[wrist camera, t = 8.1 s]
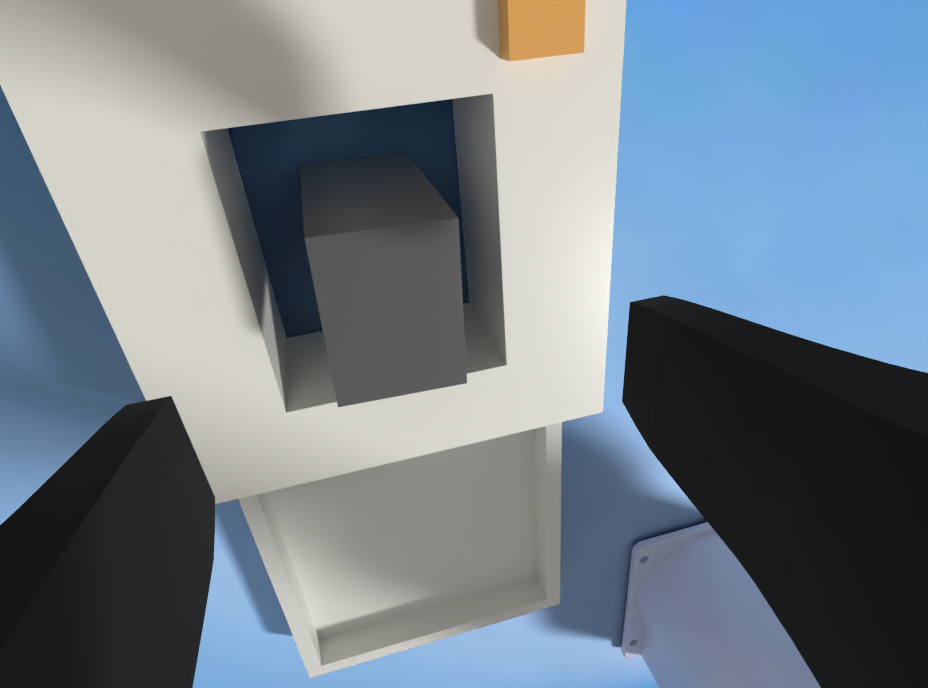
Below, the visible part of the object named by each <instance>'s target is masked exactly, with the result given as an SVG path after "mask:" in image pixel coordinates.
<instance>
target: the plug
mask: <svg viewBox="0 0 928 688" xmlns="http://www.w3.org/2000/svg"><path fill="white" fill-rule="evenodd" d="M300 179H301V194H302V209H303V224H304V239H305V244H306V249H307V254H308V259H309V264H310V269H311V274H312V279H313V284H314V289H315V294H316V299H317V304H318V309H319V314H320V319H321V325H322V330H323V335H324V340H325V345H326V350H327V355H328V360H329V365H330V370H331V375H332V380H333V385H334V390H335V395H336V400H337V405H338V407H343V406H348V405H354V404H359V403H364V402H370V401H375V400H380V399H386V398H391V397H396V396H402V395H407V394H412V393H418V392H423V391H428V390H434V389H439V388H444V387H450V386H455V385H460V384H466V383H467V371H466V352H465V333H464V313H463V294H462V275H461V256H460V237H459V218H458V217H457V216H456V214H455V213H454V212H453V210H452V209H451V208H450V207H449V205H448V204H447V203H446V201H445V200H444V199H443V198H442V196H441V195H440V194H439V193H438V191H437V190H436V189H435V187H434V186H433V185H432V184H431V182H430V181H429V180H428V178H427V177H426V176H425V175H424V173H423V172H422V171H421V170H420V168H419V167H418V166H417V164H416V163H415V162H414V161H413V159H412V158H411V157H410V155H409V154H408V153H398V154H389V155H379V156H370V157H360V158H351V159H341V160H332V161H323V162H313V163H304V164H300Z"/></svg>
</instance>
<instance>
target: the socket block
mask: <svg viewBox="0 0 928 688" xmlns="http://www.w3.org/2000/svg"><path fill="white" fill-rule="evenodd" d="M625 16H626V0H0V85H1V88H2V90H3V92H4V94H5V96H6V98H7V101H8V103H9V105H10V107H11V109H12V111H13V114H14V116H15V118H16V120H17V122H18V124H19V127H20V129H21V131H22V133H23V135H24V137H25V139H26V142H27V144H28V146H29V148H30V150H31V152H32V155H33V157H34V159H35V161H36V163H37V165H38V168H39V170H40V172H41V174H42V176H43V178H44V181H45V183H46V185H47V187H48V189H49V191H50V194H51V196H52V198H53V200H54V202H55V204H56V207H57V209H58V211H59V213H60V215H61V217H62V220H63V222H64V224H65V226H66V228H67V230H68V233H69V235H70V237H71V239H72V241H73V243H74V246H75V248H76V250H77V252H78V254H79V256H80V259H81V261H82V263H83V265H84V267H85V269H86V272H87V274H88V276H89V278H90V280H91V282H92V285H93V287H94V289H95V291H96V293H97V295H98V298H99V300H100V302H101V304H102V306H103V308H104V310H105V313H106V315H107V317H108V319H109V321H110V323H111V326H112V328H113V330H114V332H115V334H116V336H117V339H118V341H119V343H120V345H121V347H122V349H123V352H124V354H125V356H126V358H127V360H128V362H129V365H130V367H131V369H132V371H133V373H134V375H135V378H136V380H137V382H138V384H139V386H140V388H141V391H142V393H143V395H144V397H145V399H146V401H148V400H153V399H158V398H163V397H168V396H172V399H173V401H174V403H175V405H176V408H177V410H178V412H179V415H180V417H181V419H182V422H183V424H184V426H185V429H186V431H187V433H188V436H189V438H190V440H191V443H192V445H193V447H194V450H195V452H196V454H197V457H198V459H199V461H200V464H201V466H202V468H203V471H204V473H205V475H206V477H207V480H208V482H209V484H210V487H211V489H212V491H213V494H214V496H215V504H219V503H223V502H228V501H232V500H236V499H240V498H244V497H249V496H253V495H257V494H261V493H265V492H270V491H274V490H278V489H282V488H286V487H291V486H295V485H299V484H303V483H307V482H312V481H316V480H320V479H324V478H328V477H333V476H337V475H341V474H345V473H349V472H354V471H358V470H362V469H366V468H370V467H375V466H379V465H383V464H387V463H392V462H396V461H400V460H404V459H408V458H413V457H417V456H421V455H425V454H429V453H434V452H438V451H442V450H446V449H450V448H455V447H459V446H463V445H467V444H471V443H476V442H480V441H484V440H488V439H492V438H497V437H501V436H505V435H509V434H513V433H518V432H522V431H526V430H530V429H534V428H539V427H543V426H547V425H551V424H556V423H560V422H564V421H568V420H572V419H577V418H581V417H585V416H589V415H593V414H598V413H602V412H603V398H604V381H605V364H606V346H607V329H608V311H609V294H610V277H611V259H612V242H613V225H614V207H615V190H616V173H617V155H618V138H619V120H620V103H621V86H622V68H623V51H624V34H625ZM448 99H452V106H453V118H454V129H455V141H456V153H457V165H458V176H459V188H460V200H461V212H462V223H463V235H464V247H465V258H466V270H467V282H468V294H469V303H464V304H463V313H464V333H465V352H466V371H467V383H466V384H460V385H455V386H450V387H444V388H439V389H434V390H428V391H423V392H418V393H412V394H407V395H402V396H396V397H391V398H386V399H380V400H375V401H370V402H364V403H359V404H354V405H348V406H343V407H338V405H337V400H336V395H335V390H334V385H333V380H332V375H331V370H330V365H329V360H328V355H327V350H326V345H325V340H324V335H323V331H320V332H315V333H309V334H304V335H299V336H294V337H289V338H286V334H285V331H284V327H283V324H282V320H281V317H280V313H279V309H278V306H277V302H276V299H275V295H274V292H273V288H272V285H271V281H270V278H269V274H268V270H267V267H266V263H265V260H264V256H263V253H262V249H261V246H260V242H259V239H258V235H257V232H256V228H255V224H254V221H253V217H252V214H251V210H250V207H249V203H248V200H247V196H246V193H245V189H244V185H243V182H242V178H241V175H240V171H239V168H238V164H237V161H236V157H235V154H234V150H233V147H232V143H231V139H230V136H229V132H228V129H227V128H232V127H240V126H248V125H255V124H263V123H271V122H278V121H286V120H294V119H302V118H309V117H317V116H325V115H332V114H340V113H348V112H355V111H363V110H371V109H378V108H386V107H394V106H402V105H409V104H417V103H425V102H432V101H440V100H448Z"/></svg>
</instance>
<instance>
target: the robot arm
mask: <svg viewBox="0 0 928 688" xmlns="http://www.w3.org/2000/svg"><path fill="white" fill-rule="evenodd" d="M622 402H623V404H624V405H625V407H626V409H627V411H628V413H629V414H630V416H631V418H632V420H633V422H634V423H635V425H636V427H637V429H638V430H639V432H640V433H641V435H642V437H643V438H644V440H645V442H646V443H647V445H648V447H649V448H650V450H651V451H652V452H653V454H654V455H655V456H656V458H657V459H658V460H659V461H660V463H661V464H662V465H663V467H664V468H665V469H666V470H667V472H668V473H669V474H670V475H671V477H672V478H673V479H674V481H675V482H676V483H677V484H678V486H679V487H680V488H681V489H682V491H683V492H684V493H685V494H686V496H687V497H688V498H689V499H690V501H691V502H692V503H693V504H694V506H695V507H696V508H697V509H698V511H699V512H700V513H701V514H702V516H703V517H704V518H705V519H706V521H707V522H706V523H702V524H699V525H695V526H692V527H688V528H685V529H681V530H678V531H674V532H671V533H667V534H664V535H660V536H657V537H653V538H649V539H646V540H642V541H640V542H638V543H637V544H635V545H634V547H633V549H632V557H631V566H630V575H629V584H628V593H627V603H626V612H625V621H624V630H623V639H622V648H621V650H622V653H623V655H624V657H626V658H632V657H635V656H638V655H642V657H643V659H644V660H645V662H646V664H647V666H648V668H649V670H650V672H651V673H652V675H653V677H654V679H655V681H656V683H657V685H658V686H659V688H928V373H925V372H920V371H916V370H912V369H908V368H904V367H900V366H896V365H892V364H888V363H884V362H881V361H877V360H874V359H870V358H867V357H863V356H860V355H856V354H853V353H849V352H846V351H842V350H839V349H835V348H832V347H828V346H825V345H822V344H819V343H816V342H812V341H809V340H806V339H803V338H800V337H796V336H793V335H790V334H787V333H784V332H781V331H778V330H775V329H772V328H769V327H766V326H763V325H760V324H757V323H754V322H751V321H748V320H745V319H742V318H739V317H736V316H733V315H730V314H727V313H724V312H721V311H718V310H715V309H712V308H708V307H705V306H702V305H699V304H696V303H692V302H689V301H685V300H681V299H677V298H673V297H668V296H659V297H654V298H649V299H644V300H639V301H634V302H630V309H629V322H628V335H627V348H626V360H625V373H624V386H623V398H622ZM214 534H215V496H214V494H213V491H212V489H211V487H210V484H209V482H208V480H207V477H206V475H205V473H204V471H203V468H202V466H201V464H200V461H199V459H198V457H197V454H196V452H195V450H194V447H193V445H192V443H191V440H190V438H189V436H188V433H187V431H186V429H185V426H184V424H183V422H182V419H181V417H180V415H179V412H178V410H177V408H176V405H175V403H174V401H173V399H172V396H168V397H163V398H158V399H153V400H148V401H143V402H139V403H134V404H129V405H126V406H125V407H123V408H122V409H121V410H120V411H119V412H117V413H116V414H115V415H114V416H113V417H112V418H111V419H110V420H109V421H107V422H106V423H105V424H104V425H103V426H102V427H101V428H100V429H99V430H98V431H97V432H96V433H95V434H94V435H93V436H92V437H91V438H90V439H89V440H88V441H87V442H86V443H85V444H84V445H83V446H82V447H81V448H80V449H79V450H78V451H77V452H76V453H75V454H74V455H73V456H72V457H71V458H70V459H69V460H68V461H67V462H66V463H65V464H64V465H63V466H62V467H61V468H59V469H58V470H57V471H56V472H55V473H54V474H53V475H52V476H51V477H50V478H49V479H48V480H47V481H46V482H45V483H44V484H43V485H42V486H41V487H40V488H39V489H38V490H37V491H36V492H35V493H34V494H33V495H32V496H31V497H30V498H29V499H28V500H27V501H26V502H25V503H24V504H23V505H22V506H21V507H20V508H19V509H17V510H16V511H15V512H14V513H13V514H12V515H11V516H10V517H9V518H8V519H7V520H6V521H4V522H3V523H2V524H1V525H0V688H192V686H193V681H194V675H195V669H196V663H197V657H198V651H199V645H200V639H201V633H202V628H203V622H204V616H205V610H206V604H207V598H208V591H209V585H210V579H211V573H212V566H213V559H214Z"/></svg>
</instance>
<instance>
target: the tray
mask: <svg viewBox="0 0 928 688" xmlns="http://www.w3.org/2000/svg"><path fill="white" fill-rule="evenodd" d="M561 471H562V422H560V423H556V424H551V425H547V426H543V427H539V428H534V429H530V430H526V431H522V432H518V433H513V434H509V435H505V436H501V437H497V438H492V439H488V440H484V441H480V442H476V443H471V444H467V445H463V446H459V447H455V448H450V449H446V450H442V451H438V452H434V453H429V454H425V455H421V456H417V457H413V458H408V459H404V460H400V461H396V462H392V463H387V464H383V465H379V466H375V467H370V468H366V469H362V470H358V471H354V472H349V473H345V474H341V475H337V476H333V477H328V478H324V479H320V480H316V481H312V482H307V483H303V484H299V485H295V486H291V487H286V488H282V489H278V490H274V491H270V492H265V493H261V494H257V495H253V496H249V497H244V498H240V499H238V500H239V503H240V505H241V508H242V510H243V513H244V515H245V518H246V520H247V523H248V525H249V528H250V530H251V533H252V535H253V538H254V540H255V543H256V545H257V548H258V550H259V553H260V555H261V558H262V560H263V563H264V565H265V568H266V570H267V573H268V575H269V577H270V580H271V582H272V585H273V587H274V590H275V592H276V595H277V597H278V600H279V602H280V605H281V607H282V610H283V612H284V615H285V617H286V620H287V622H288V625H289V627H290V630H291V632H292V635H293V637H294V640H295V642H296V645H297V647H298V649H299V652H300V654H301V657H302V659H303V662H304V664H305V667H306V669H307V672H308V674H309V677H310V678H312V677H315V676H319V675H322V674H326V673H329V672H332V671H336V670H339V669H342V668H346V667H349V666H353V665H356V664H359V663H363V662H366V661H369V660H373V659H376V658H380V657H383V656H386V655H390V654H393V653H397V652H400V651H403V650H407V649H410V648H413V647H417V646H420V645H424V644H427V643H430V642H434V641H437V640H440V639H444V638H447V637H451V636H454V635H457V634H461V633H464V632H467V631H471V630H474V629H478V628H481V627H484V626H488V625H491V624H495V623H498V622H501V621H505V620H508V619H511V618H515V617H518V616H522V615H525V614H528V613H532V612H535V611H538V610H542V609H545V608H549V607H552V606H555V605H559V604H560V562H561Z"/></svg>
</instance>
